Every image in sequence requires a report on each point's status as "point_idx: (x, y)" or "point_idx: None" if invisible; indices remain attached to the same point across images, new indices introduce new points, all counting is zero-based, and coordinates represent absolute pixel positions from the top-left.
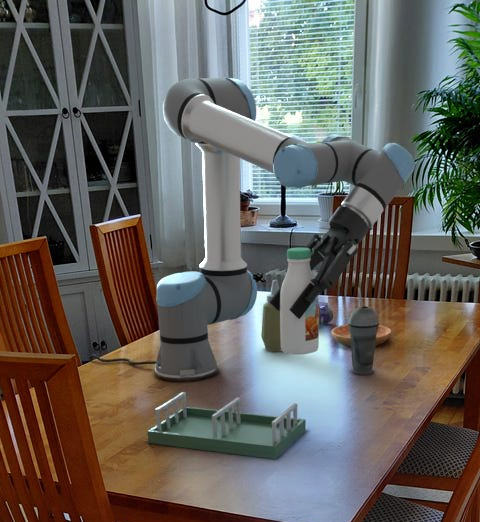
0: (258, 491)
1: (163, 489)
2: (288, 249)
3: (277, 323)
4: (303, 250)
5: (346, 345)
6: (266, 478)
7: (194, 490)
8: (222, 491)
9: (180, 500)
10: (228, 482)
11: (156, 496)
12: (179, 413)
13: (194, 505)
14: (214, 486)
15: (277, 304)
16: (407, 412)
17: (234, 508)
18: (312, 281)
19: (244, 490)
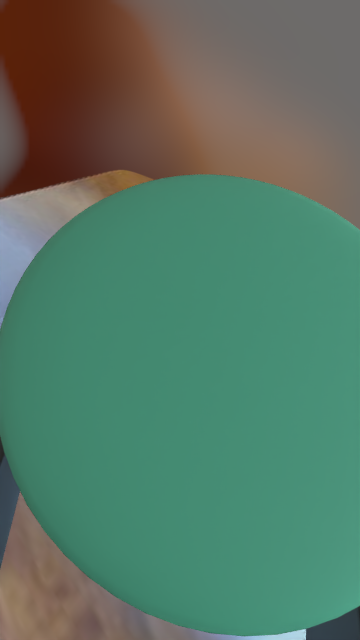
0: (19, 232)
1: (96, 190)
2: (338, 217)
3: None
4: (46, 275)
5: None
6: (34, 254)
7: (72, 202)
8: (49, 214)
9: (66, 187)
10: (60, 228)
11: (89, 180)
12: None
13: (48, 188)
14: (64, 216)
15: None
16: (16, 611)
17: (13, 202)
18: None
19: (33, 226)
